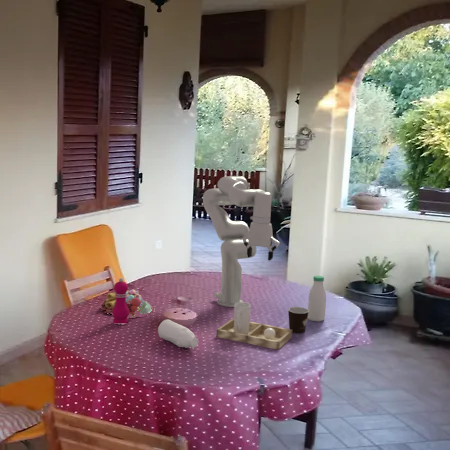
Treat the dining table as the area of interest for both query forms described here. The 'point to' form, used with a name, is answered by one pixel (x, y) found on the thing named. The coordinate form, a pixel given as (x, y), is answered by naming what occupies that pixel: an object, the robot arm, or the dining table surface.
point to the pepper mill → (120, 303)
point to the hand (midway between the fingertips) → (259, 258)
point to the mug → (241, 317)
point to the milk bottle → (317, 300)
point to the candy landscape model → (128, 303)
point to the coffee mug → (298, 319)
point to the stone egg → (269, 333)
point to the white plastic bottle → (177, 334)
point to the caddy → (255, 334)
